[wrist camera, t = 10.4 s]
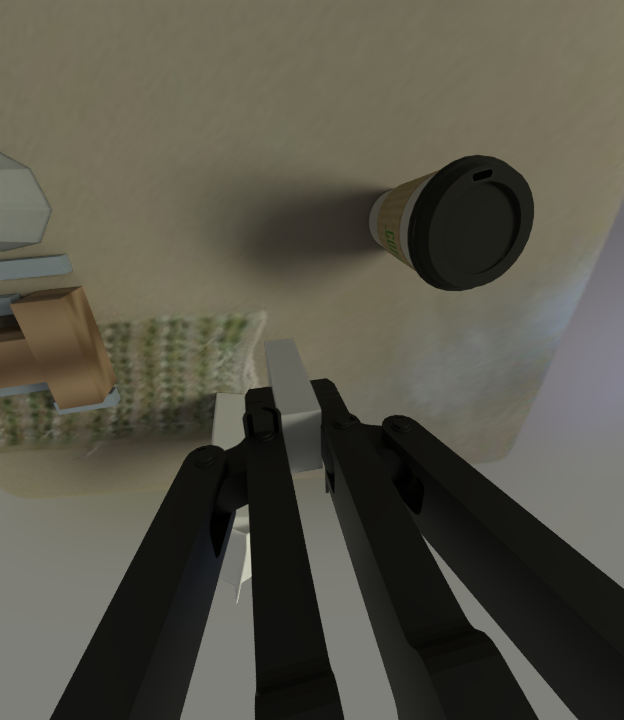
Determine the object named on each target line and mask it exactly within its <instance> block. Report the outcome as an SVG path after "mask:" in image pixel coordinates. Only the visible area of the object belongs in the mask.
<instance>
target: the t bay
mask: <svg viewBox="0 0 624 720" xmlns="http://www.w3.org/2000/svg"><path fill="white" fill-rule="evenodd" d="M71 271H73V270H72V267H71V265H70V262H69V259H68V257H67V254H62V255H51V256H40V257H29V258H18V259H6V260H0V280H9V279H19V278H29V277H39V276H49V275H60V274H67V273H69V272H71ZM20 299H21V298H20V296H19V294H10V295H0V316H3V315H11V314H14V313H13V311H12V309H11V307H10V305H9V304H12V303H14V302H16V301H18V300H20ZM43 390H50V389H49V387H48V384H47V382H43V383H36V384H29V385H22V386H15V387H8V388H1V389H0V397H3V396H9V395H16V394H23V393H30V392H37V391H43ZM120 399H121V398H120V396H119V393H118V390H117V388H116V387H112V389H111V390H110V392H109V393H108V395H107V397H106V398H105V400H104V401H103V403H100V404H94V405H88V406H81V407H75V408H68V409H62V410H59V407H58V405H57V403H56V401H55V402H54V405H55V407H56V409H57V411H58V413H59V415H61V414H67V413H74V412H80V411H86V410H93V409H99V408H105V407H111V406H117V404H118V402H119V400H120Z"/></svg>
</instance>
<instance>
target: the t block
mask: <svg viewBox="0 0 624 720" xmlns="http://www.w3.org/2000/svg"><path fill="white" fill-rule="evenodd" d="M9 305H10V307H11V309H12V311H13V313H14V315H15V317H16V319H17V322H18V324H19V326H11V327H3V328H0V389H1V388H8V387H15V386H22V385H29V384H36V383H43V382H47V384H48V387H49V389H50V391H51V393H52V395H53V397H54V399H55V401H56V403H57V405H58V407H59V410H62V409H68V408H75V407H81V406H88V405H94V404H100V403H103V401H104V400H105V398H106V397H107V395H108V393H109V392H110V390H111V389H112V387H113V386H114V384H115V383H116V381H117V379H116V376H115V373H114V371H113V368H112V365H111V363H110V360H109V357H108V354H107V352H106V349H105V346H104V344H103V341H102V338H101V336H100V333H99V330H98V327H97V325H96V322H95V319H94V317H93V314H92V311H91V308H90V306H89V303H88V300H87V298H86V295H85V292H84V290H83V287H82V286H80V287H70V288H61V289H51V290H42V291H37V292H35V293H33V294H31V295H29V296H27V297H24V298H22V299H20V300H18V301H16V302H14V303H12V304H9Z"/></svg>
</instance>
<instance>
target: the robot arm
mask: <svg viewBox="0 0 624 720" xmlns="http://www.w3.org/2000/svg"><path fill="white" fill-rule="evenodd" d="M264 345H265V355H266V364H267V374H268V383H269V387H263V388H256V389H249V390H248V392H247V393H246V395H245V413H244V414H243V418H242V420H243V427H244V433H245V437H244V439H243V440H242V441H241V442H240V443H239V444H238V445H236V446H234V447H232V448H230V449H228V450H225V451H224V449H223V448H221V447H219V446H215V445H207V446H202V447H199V448H197V449H195V450H193V451H192V452H191V453H189V454H188V456H187V457H186V458H185V460H184V462H183V464H182V466H181V468H180V470H179V471H178V473H177V475H176V477H175V479H174V481H173V483H172V485H171V487H170V489H169V491H168V493H167V495H166V496H165V498H164V500H163V502H162V504H161V506H160V508H159V510H158V512H157V514H156V516H155V518H154V520H153V521H152V523H151V526H150V527H149V529H148V531H147V533H146V535H145V537H144V539H143V541H142V543H141V545H140V547H139V548H138V551H137V552H136V554H135V556H134V559H133V560H132V562H131V564H130V566H129V568H128V570H127V572H126V573H125V575H124V577H123V579H122V581H121V583H120V585H119V587H118V589H117V591H116V593H115V595H114V597H113V599H112V601H111V602H110V605H109V606H108V608H107V610H106V612H105V614H104V616H103V618H102V620H101V622H100V624H99V625H98V627H97V629H96V631H95V633H94V635H93V637H92V639H91V641H90V643H89V645H88V647H87V649H86V650H85V652H84V655H83V656H82V658H81V660H80V662H79V664H78V666H77V668H76V670H75V672H74V674H73V676H72V677H71V679H70V681H69V683H68V685H67V687H66V689H65V691H64V693H63V695H62V697H61V699H60V701H59V702H58V705H57V706H56V708H55V710H54V713H53V714H52V716H51V718H50V720H180V717H181V713H182V710H183V706H184V702H185V699H186V695H187V691H188V688H189V684H190V680H191V677H192V673H193V670H194V666H195V662H196V659H197V654H198V651H199V648H200V644H201V640H202V637H203V633H204V629H205V626H206V622H207V618H208V615H209V611H210V608H211V604H212V600H213V596H214V593H215V589H216V586H217V582H218V578H219V575H220V571H221V567H222V564H223V560H224V556H225V553H226V549H227V546H228V542H229V538H230V535H231V531H232V527H233V524H234V520H235V516H236V510H237V509H239V508H241V507H243V506H246V505H248V510H249V531H250V553H251V575H252V597H253V618H254V641H255V661H256V694H255V720H344V715H343V711H342V706H341V701H340V696H339V692H338V687H337V684H336V680H335V676H334V673H333V671H332V669H331V666H330V662H329V657H328V652H327V648H326V643H325V638H324V633H323V628H322V623H321V619H320V613H319V608H318V603H317V599H316V593H315V588H314V584H313V579H312V574H311V569H310V564H309V559H308V554H307V549H306V544H305V539H304V535H303V529H302V525H301V520H300V515H299V510H298V505H297V500H296V495H295V490H294V485H293V480H292V475H291V474H292V473H297V472H303V471H309V470H315V469H320V468H323V464H322V459H323V462H324V465H325V480H326V493H328V492H329V491H330V494H331V497H332V501H333V504H334V507H335V510H336V513H337V517H338V519H339V523H340V526H341V529H342V533H343V536H344V539H345V542H346V545H347V549H348V552H349V555H350V558H351V561H352V565H353V568H354V571H355V574H356V577H357V580H358V584H359V587H360V590H361V593H362V596H363V600H364V603H365V606H366V609H367V612H368V616H369V619H370V622H371V625H372V628H373V632H374V635H375V638H376V641H377V645H378V648H379V651H380V654H381V657H382V660H383V664H384V667H385V670H386V673H387V677H388V680H389V683H390V686H391V689H392V693H393V696H394V700H395V703H396V708H397V713H398V719H399V720H539V719H538V717H537V716H536V714H535V712H534V710H533V709H532V707H531V705H530V704H529V702H528V700H527V698H526V696H525V695H524V693H523V691H522V689H521V688H520V686H519V684H518V682H517V681H516V679H515V677H514V676H513V674H512V672H511V670H510V669H509V667H508V665H507V663H506V662H505V660H504V658H503V656H502V655H501V653H500V652H499V650H498V648H497V647H496V646H495V644H494V642H493V641H492V640H491V639H490V638H489V637H488V636H487V635H486V634H485V633H484V632H482V631H480V630H477V629H474V627H473V626H472V625H471V624H470V623H469V621H468V620H467V618H466V616H465V615H464V613H463V611H462V609H461V607H460V605H459V603H458V602H457V600H456V598H455V596H454V594H453V592H452V590H451V589H450V587H449V585H448V583H447V581H446V579H445V578H444V576H443V574H442V572H441V570H440V568H439V566H438V565H437V563H436V561H435V559H434V557H433V555H432V553H431V552H430V550H429V548H428V546H427V544H426V542H425V540H424V539H423V537H422V535H423V536H424V537H425V539H426V540H427V541H428V542H429V543H430V545H431V546H432V547H433V548H434V549H435V551H436V552H437V553H438V554H439V555H440V556H441V558H442V559H443V560H444V561H445V562H446V564H447V565H448V566H449V567H450V568H451V570H452V571H453V572H454V573H455V574H456V575H457V577H458V578H459V579H460V580H461V581H462V582H463V584H464V585H465V586H466V587H467V589H468V590H469V591H470V592H471V593H472V594H473V596H474V597H475V598H476V599H477V600H478V602H479V603H480V604H481V605H482V606H483V607H484V609H485V610H486V611H487V612H488V613H489V615H490V616H491V617H492V618H493V619H494V620H495V622H496V623H497V624H498V625H499V626H500V628H501V629H502V630H503V631H504V632H505V634H506V635H507V636H508V637H509V638H510V640H511V641H512V642H513V643H514V644H515V645H516V647H517V648H518V649H519V650H520V651H521V653H523V655H524V656H525V657H526V658H527V660H528V661H529V662H530V663H531V664H532V666H533V667H534V668H535V669H536V670H537V672H538V673H539V674H540V675H541V676H542V678H543V679H544V680H545V681H546V682H547V683H548V685H549V686H550V687H551V688H552V689H553V690H554V692H555V693H556V694H557V695H558V696H559V698H560V699H561V700H562V701H563V702H564V704H565V705H566V706H567V707H568V708H569V709H570V711H571V712H572V713H573V714H574V715H575V716H576V718H577V719H578V720H624V589H623V588H622V587H621V586H619V585H618V584H617V583H616V582H615V581H613V580H612V579H611V578H610V577H608V576H607V575H606V574H605V573H603V572H602V571H601V570H600V569H598V568H597V567H596V566H595V565H594V564H592V563H591V562H590V561H589V560H587V559H586V558H585V557H584V556H582V555H581V554H580V553H578V552H577V551H576V550H575V549H573V548H572V547H571V546H570V545H569V544H568V543H566V542H565V541H564V540H562V539H561V538H560V537H559V536H558V535H556V534H555V533H554V532H553V531H551V530H550V529H549V528H547V527H546V526H545V525H544V524H543V523H541V522H540V521H539V520H538V519H537V518H535V517H534V516H533V515H532V514H530V513H529V512H528V511H527V510H525V509H524V508H523V507H522V506H520V505H519V504H518V503H517V502H515V501H514V500H513V499H512V498H510V497H509V496H508V495H507V494H506V493H504V492H503V491H502V490H501V489H499V488H498V487H497V486H496V485H494V484H493V483H492V482H491V481H489V480H488V479H487V478H486V477H484V476H483V475H482V474H481V473H480V472H478V471H477V470H476V469H475V468H473V467H472V466H471V465H470V464H468V463H467V462H466V461H465V460H463V459H462V458H461V457H460V456H458V455H457V454H456V453H455V452H453V451H452V450H451V449H450V448H449V447H447V446H446V445H445V444H444V443H442V442H441V441H440V440H439V439H437V438H436V437H435V436H434V435H432V434H431V433H430V432H429V431H427V430H426V429H425V428H424V427H422V426H421V425H420V424H419V423H418V422H416V421H415V420H413V419H411V418H410V417H406V416H403V415H394V416H389V417H387V418H385V419H384V421H383V422H382V426H378V425H367V424H363V423H361V422H360V420H359V419H358V418H357V417H356V416H355V415H353V414H351V413H349V411H348V409H347V407H346V406H345V404H344V402H343V400H342V398H341V396H340V394H339V392H338V391H337V388H336V386H335V384H334V383H333V382H331V381H330V380H328V379H327V378H326V379H318V380H309V378H308V375H307V373H306V370H305V368H304V365H303V363H302V360H301V357H300V355H299V352H298V350H297V347H296V345H295V342H294V340H293V338H292V339H283V340H273V341H264ZM421 534H422V535H421Z"/></svg>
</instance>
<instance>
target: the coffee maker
mask: <svg viewBox="0 0 624 720" xmlns="http://www.w3.org/2000/svg"><path fill="white" fill-rule="evenodd" d="M51 211H52V209H51V207H50V205H49V203H48V201H47V199H46V197H45V195H44V194H43V192H42V190H41V188H40V186H39V184H38V182H37V180H36V178H35V177H34V175H33V173H32V171H31V169H30V168H28V167H26V166H24V165H22V164H21V163H19V162H17V161H15V160H13V159H12V158H10V157H8V156H6V155H4V154H2V153H1V152H0V251H7V250H12V249H16V248H20V247H24V246H28V245H32V244H36V243H40V242H41V240H42V237H43V234H44V231H45V229H46V226H47V223H48V220H49V217H50V214H51Z"/></svg>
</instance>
